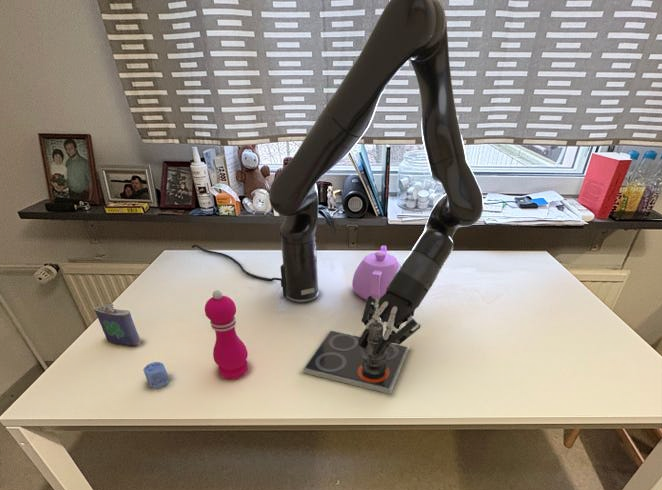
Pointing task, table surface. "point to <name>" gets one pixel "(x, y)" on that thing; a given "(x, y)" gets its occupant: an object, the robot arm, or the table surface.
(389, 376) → the hob
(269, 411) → the table surface
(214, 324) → the pepper mill
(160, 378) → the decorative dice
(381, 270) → the teapot
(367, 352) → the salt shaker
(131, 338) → the flask
